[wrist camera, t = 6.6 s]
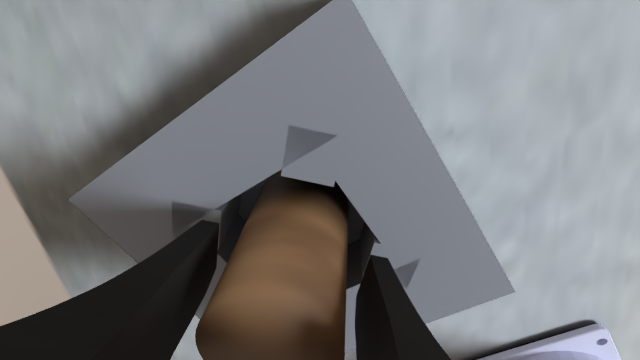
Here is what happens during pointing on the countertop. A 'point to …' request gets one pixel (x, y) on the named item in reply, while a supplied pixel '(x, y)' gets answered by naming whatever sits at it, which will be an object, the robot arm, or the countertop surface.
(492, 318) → the countertop surface
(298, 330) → the walnut pin
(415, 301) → the bore block
